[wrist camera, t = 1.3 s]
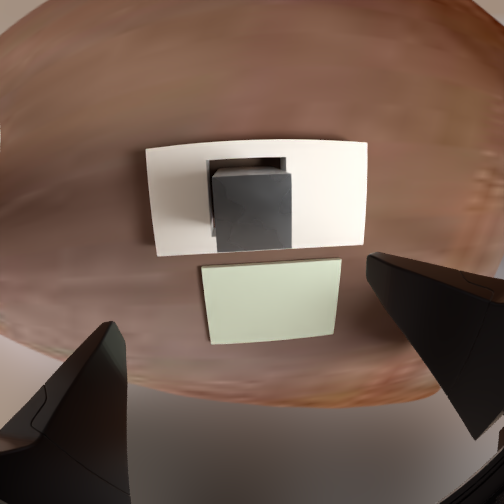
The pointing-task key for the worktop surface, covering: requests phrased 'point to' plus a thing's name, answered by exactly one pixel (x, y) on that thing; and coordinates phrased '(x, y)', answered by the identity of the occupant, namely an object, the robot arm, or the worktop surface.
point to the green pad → (271, 300)
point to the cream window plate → (291, 160)
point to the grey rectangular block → (252, 208)
